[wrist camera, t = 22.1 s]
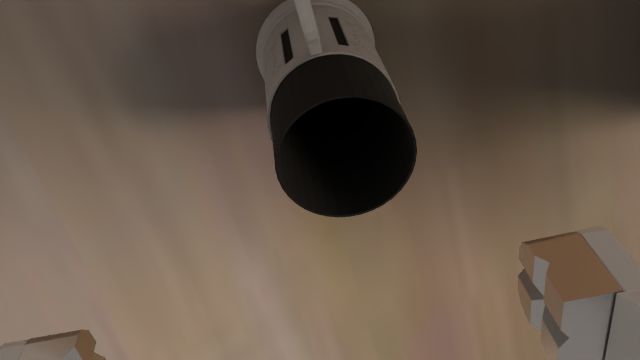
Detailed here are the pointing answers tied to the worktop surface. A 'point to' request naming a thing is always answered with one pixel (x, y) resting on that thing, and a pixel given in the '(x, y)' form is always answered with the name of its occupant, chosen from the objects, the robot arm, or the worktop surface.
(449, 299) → the worktop surface
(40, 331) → the worktop surface
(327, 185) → the glass holder
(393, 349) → the worktop surface
